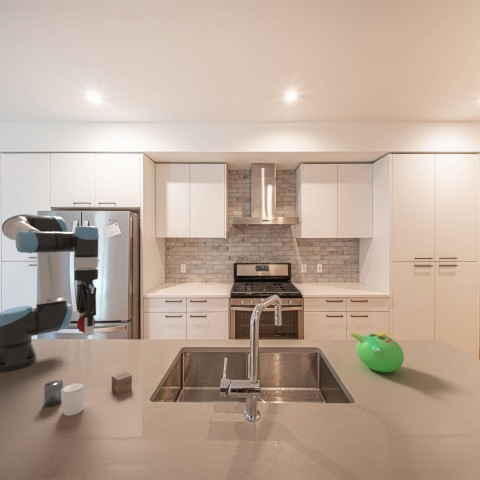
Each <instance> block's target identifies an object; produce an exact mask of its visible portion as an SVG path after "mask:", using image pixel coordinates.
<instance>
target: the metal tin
mask: <svg viewBox="0 0 480 480" xmlns="http://www.w3.org/2000/svg"><path fill="white" fill-rule="evenodd" d="M63 387H64V381H63V380H62V379H55V380H52V381H48V382H47V383H45V384H44V386H43V388H44V389H43V390H44V392H43V398H44V399H43V400H44V401H43V404H44V405H43V406H44V407H46V408H47V407H48V408H53V407H56V406H58V405H60V404H62V401H61V389H62V388H63Z"/></svg>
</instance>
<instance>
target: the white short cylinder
mask: <svg viewBox="0 0 480 480" xmlns="http://www.w3.org/2000/svg"><path fill="white" fill-rule="evenodd" d="M86 389H87V383H85V382H83V381H82V382H81V381H78V382H73V383H69V384H66V385H65V386H64V385H63V388H62V389H61V401H62V402H61V410H62V414H63V415H64V416H67V417H68V416H73V415H77V414H80V412H83V410H85V400H86V391H87V390H86Z"/></svg>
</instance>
